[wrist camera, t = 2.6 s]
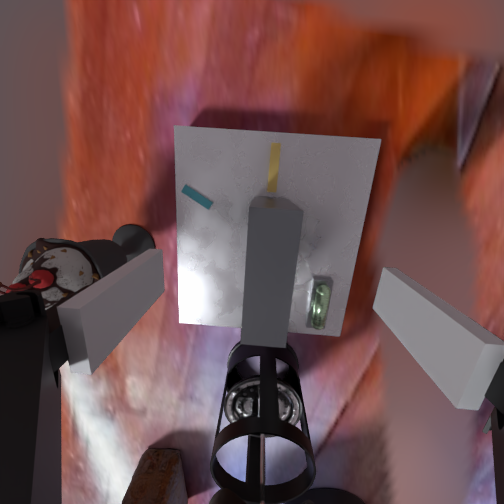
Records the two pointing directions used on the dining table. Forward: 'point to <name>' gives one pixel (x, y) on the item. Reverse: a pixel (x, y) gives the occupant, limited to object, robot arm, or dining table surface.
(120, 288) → the robot arm
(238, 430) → the french press
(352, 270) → the base
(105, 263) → the sundae
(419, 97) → the dining table surface
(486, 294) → the dining table surface
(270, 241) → the dark grey rectangular block
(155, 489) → the food item
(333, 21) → the dining table surface
